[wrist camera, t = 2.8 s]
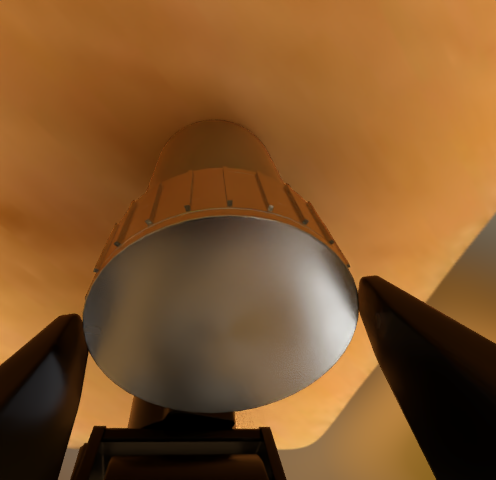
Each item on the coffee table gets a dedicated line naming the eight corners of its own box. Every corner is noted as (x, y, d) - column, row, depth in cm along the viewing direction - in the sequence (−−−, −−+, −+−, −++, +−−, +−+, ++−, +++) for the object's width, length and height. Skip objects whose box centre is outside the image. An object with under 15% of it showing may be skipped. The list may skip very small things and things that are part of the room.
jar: (243, 242, 18) (272, 405, 10) (141, 207, 16) (81, 370, 8) (293, 150, 16) (383, 271, 8) (180, 96, 14) (147, 181, 6)
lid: (267, 358, 12) (280, 428, 10) (85, 316, 10) (53, 392, 8) (370, 217, 10) (418, 272, 7) (148, 120, 8) (124, 157, 5)
